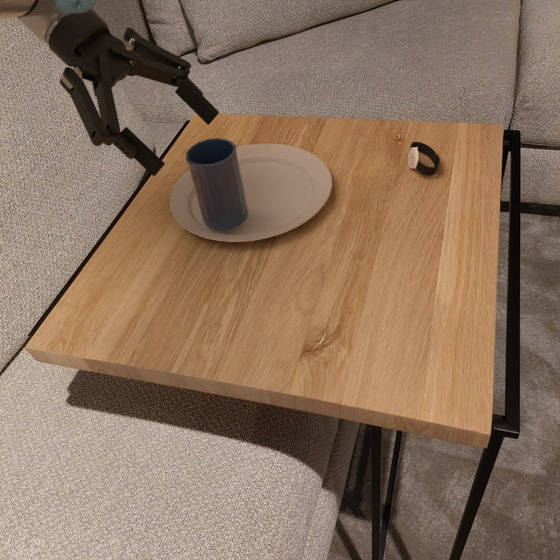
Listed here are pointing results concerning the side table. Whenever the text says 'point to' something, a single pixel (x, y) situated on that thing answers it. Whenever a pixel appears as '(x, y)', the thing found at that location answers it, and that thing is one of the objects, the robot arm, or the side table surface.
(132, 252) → the side table surface
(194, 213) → the plate
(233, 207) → the tumbler
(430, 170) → the watch
